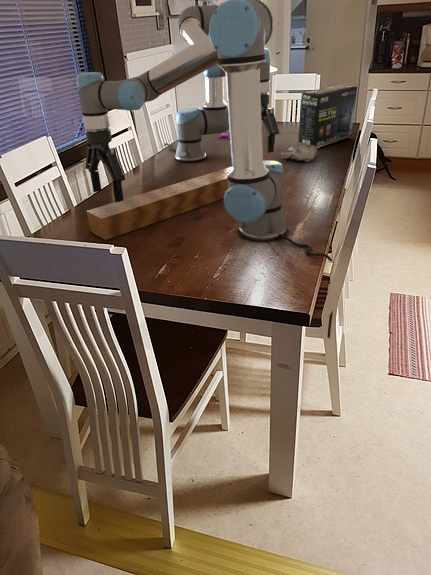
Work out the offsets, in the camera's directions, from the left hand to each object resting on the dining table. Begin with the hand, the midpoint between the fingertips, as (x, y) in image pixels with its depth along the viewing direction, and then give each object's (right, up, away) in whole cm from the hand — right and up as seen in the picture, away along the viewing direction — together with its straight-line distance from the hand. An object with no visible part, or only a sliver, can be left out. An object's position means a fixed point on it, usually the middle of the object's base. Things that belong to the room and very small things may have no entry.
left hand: (259, 149), depth 188 cm
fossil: (+22, +6, +35) cm, 42 cm away
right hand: (-53, -27, -38) cm, 71 cm away
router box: (+41, +20, +57) cm, 73 cm away
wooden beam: (-27, -25, -13) cm, 39 cm away
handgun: (-9, +27, +71) cm, 76 cm away
